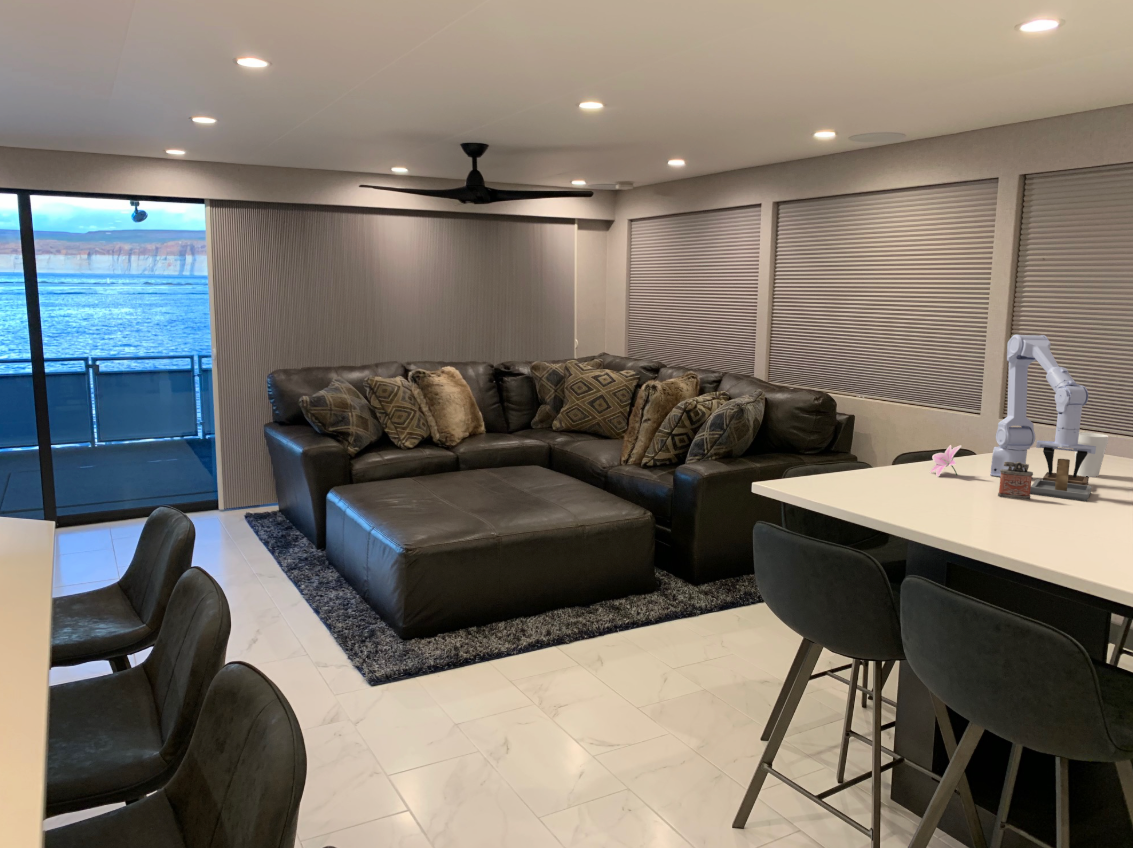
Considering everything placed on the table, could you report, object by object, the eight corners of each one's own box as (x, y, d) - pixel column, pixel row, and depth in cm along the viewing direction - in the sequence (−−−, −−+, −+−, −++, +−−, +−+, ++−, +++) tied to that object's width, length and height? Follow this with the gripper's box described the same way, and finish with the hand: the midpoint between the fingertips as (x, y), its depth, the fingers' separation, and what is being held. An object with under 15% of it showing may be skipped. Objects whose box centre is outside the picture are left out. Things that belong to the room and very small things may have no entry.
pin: (1054, 490, 245) (1057, 459, 243) (1055, 489, 247) (1058, 458, 246) (1066, 492, 243) (1069, 460, 242) (1067, 490, 245) (1070, 459, 244)
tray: (1029, 494, 243) (1030, 487, 243) (1035, 485, 255) (1036, 479, 254) (1087, 501, 236) (1088, 494, 235) (1090, 492, 247) (1091, 486, 247)
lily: (932, 472, 277) (922, 447, 274) (971, 462, 271) (960, 436, 269) (933, 491, 267) (922, 465, 264) (973, 480, 261) (962, 454, 259)
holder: (1042, 485, 255) (1043, 477, 255) (1046, 479, 264) (1047, 471, 264) (1085, 491, 249) (1086, 482, 249) (1087, 485, 258) (1088, 476, 258)
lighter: (1029, 497, 239) (1032, 462, 237) (1031, 500, 236) (1035, 464, 234) (996, 494, 241) (1000, 459, 240) (998, 497, 238) (1002, 461, 237)
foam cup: (1104, 479, 268) (1109, 438, 266) (1070, 475, 272) (1074, 435, 270) (1103, 474, 276) (1107, 434, 274) (1069, 470, 280) (1074, 431, 278)
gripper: (1037, 427, 243) (1032, 474, 245) (1096, 432, 235) (1091, 481, 237) (1040, 424, 249) (1035, 470, 251) (1098, 429, 241) (1092, 477, 243)
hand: (1062, 475), depth 244 cm, fingers open, 5 cm apart
